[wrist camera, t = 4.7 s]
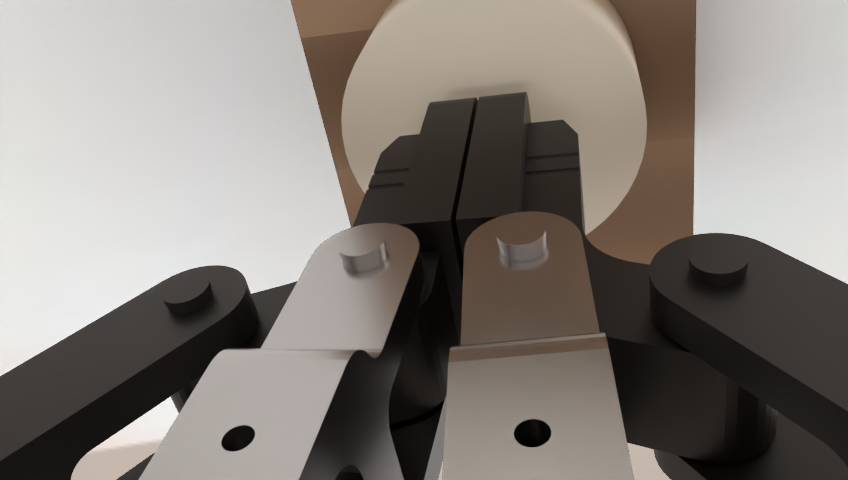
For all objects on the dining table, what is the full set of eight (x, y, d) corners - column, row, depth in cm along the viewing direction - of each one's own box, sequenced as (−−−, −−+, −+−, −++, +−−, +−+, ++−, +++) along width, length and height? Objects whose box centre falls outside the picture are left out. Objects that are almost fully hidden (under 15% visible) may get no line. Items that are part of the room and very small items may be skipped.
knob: (391, -96, 18) (308, 8, 12) (613, -132, 17) (643, -38, 11) (428, 102, 21) (375, 269, 15) (621, 81, 20) (650, 251, 14)
